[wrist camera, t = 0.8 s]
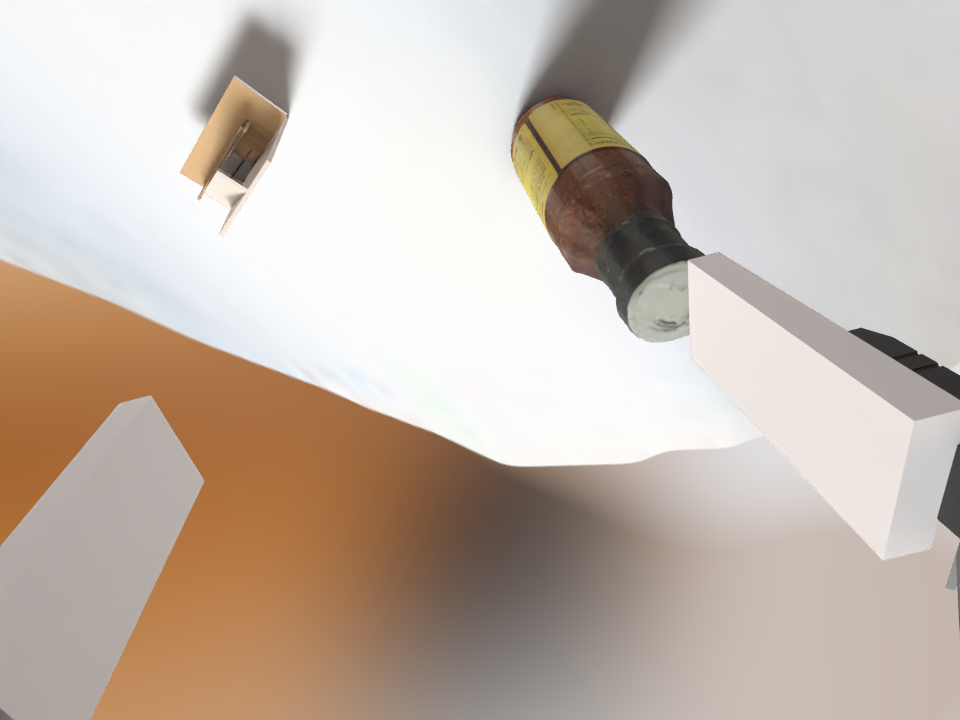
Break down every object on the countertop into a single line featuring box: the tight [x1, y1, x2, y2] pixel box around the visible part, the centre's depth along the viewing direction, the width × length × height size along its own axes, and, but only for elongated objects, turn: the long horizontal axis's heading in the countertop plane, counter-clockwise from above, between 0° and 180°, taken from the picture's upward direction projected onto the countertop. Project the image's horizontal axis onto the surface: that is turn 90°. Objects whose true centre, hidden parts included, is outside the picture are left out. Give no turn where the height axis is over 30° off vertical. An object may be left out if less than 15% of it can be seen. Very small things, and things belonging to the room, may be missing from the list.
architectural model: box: [180, 76, 289, 236], centre depth 32 cm, size 3×7×7 cm, turn 138°
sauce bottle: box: [511, 96, 705, 342], centre depth 29 cm, size 6×6×20 cm
